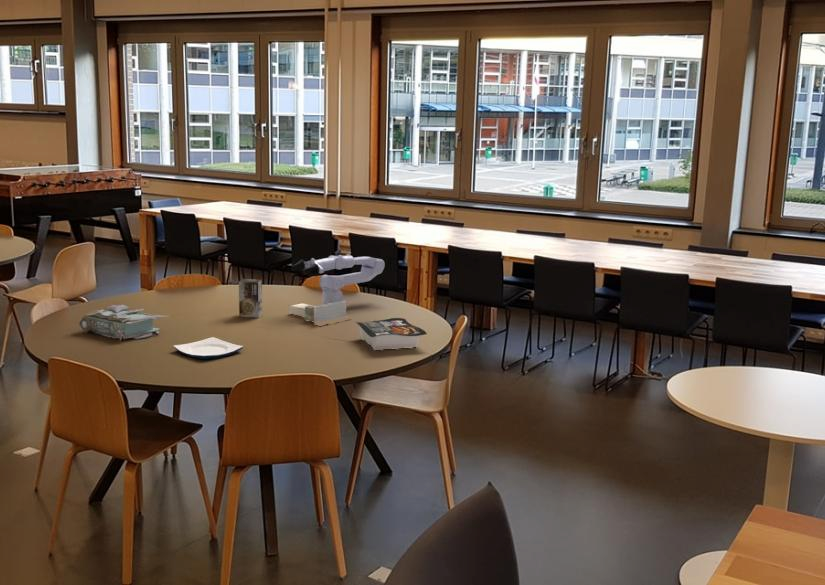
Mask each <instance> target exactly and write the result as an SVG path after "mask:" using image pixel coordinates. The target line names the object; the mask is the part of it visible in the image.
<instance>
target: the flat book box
mask: <svg viewBox="0 0 825 585" xmlns="http://www.w3.org/2000/svg"><path fill="white" fill-rule="evenodd" d="M306 306H313V307H316V306H317V305H315V306H314V305H312V304H307V303H298V304H293V305H289V312H288V314H289V313H293V314H297V315H301V316H305V307H306Z"/></svg>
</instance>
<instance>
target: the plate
mask: <svg viewBox="0 0 825 585" xmlns="http://www.w3.org/2000/svg"><path fill="white" fill-rule="evenodd" d="M172 346H173V347H172V348H174V349H175V350H177V351H178V352H179V353H181V354H184V355H186V356H188V357H192V358H196V359H201V360H202V359H203V360H204V359H205V360H208V359H216V358H217V359H218V358H222V357H226V356H229V355H232V354H234V353H236V352H239V351H241V350H242V349H243V348H244V345H239V344H234V343H230V342H228V341H225V340H223V339H220V338H217V337H214V336H212V337H209V338H205V339H202V340H197V341H194V342H188V343H184V344H175V345H172Z"/></svg>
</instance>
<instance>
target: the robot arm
mask: <svg viewBox="0 0 825 585" xmlns="http://www.w3.org/2000/svg"><path fill="white" fill-rule="evenodd" d="M354 265H355V266H356V265H361V268H360V271H359V272H352V273H347V274H342V275H328V274H323V273H325V272H326V271H330V270H331V271H332V270H334V269H336V270H342V269H348V268H352V267H354ZM385 265H386V264H385V261H384V260H383V259H382V258H375V257H371V256H357V257H353V255H351V254H347V253H346V254H345V255H341V254H339V255H338V256H336V255H329V256H328V257H325V258H321V259H320V258H319V259H315V258H313V257H312V258H310V260H308V261H305V260H304V259H300V260H299V261H297V262H296V263H294V264H293V265H291V271H293V272H296V271H297V272H299V271H300V272H302V275H304V276H305V275H306V276H314V277H318V276H319V274H323V275H321V277H320V278H319V281H318V282H319V286H320V287H321V290H322V304H321V305H326V303H336V302H340V301H344V295H343V294H344V293H343V291H342V290H341V289H343V288H344V286H345V287H346V286H348V285H349V286H351V285H356V284H360V283H366V282H370V281H371V280H373V279H374V278H375V277H376V276H377V275H380V274H382V273H383V271H384V269H385Z"/></svg>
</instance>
